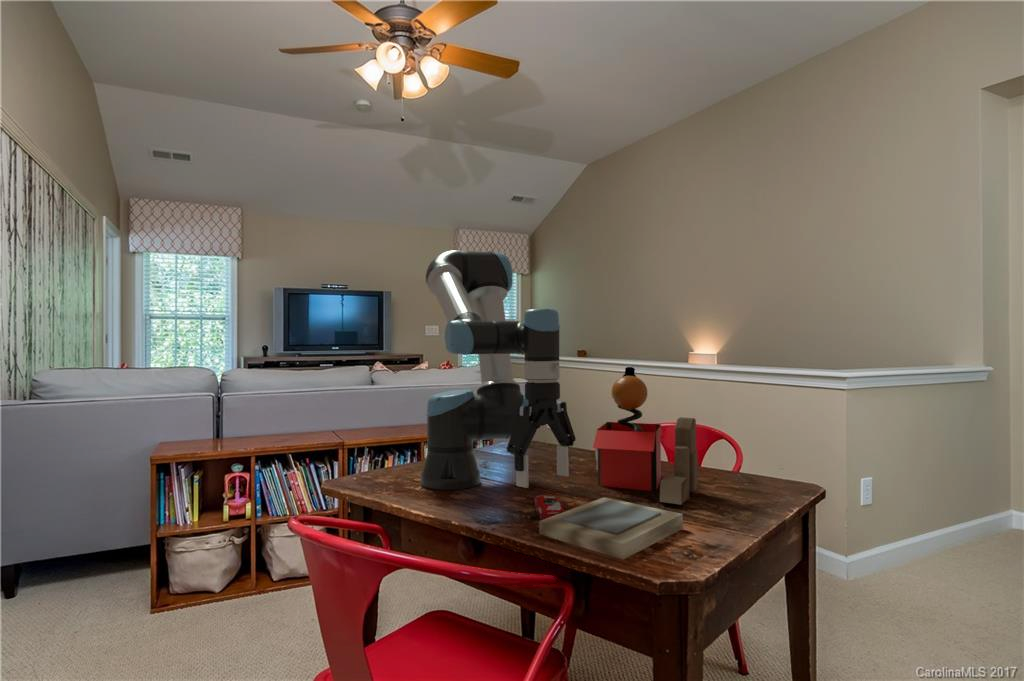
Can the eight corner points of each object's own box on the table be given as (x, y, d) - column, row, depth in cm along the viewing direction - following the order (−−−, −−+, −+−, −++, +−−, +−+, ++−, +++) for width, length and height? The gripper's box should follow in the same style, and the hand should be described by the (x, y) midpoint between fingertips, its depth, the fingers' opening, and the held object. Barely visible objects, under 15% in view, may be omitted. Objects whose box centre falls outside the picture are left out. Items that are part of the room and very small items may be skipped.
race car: (532, 504, 125) (532, 486, 125) (556, 504, 125) (556, 486, 125) (539, 526, 112) (538, 506, 112) (566, 525, 112) (566, 505, 112)
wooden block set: (675, 489, 141) (674, 416, 141) (698, 491, 138) (698, 418, 138) (655, 506, 126) (655, 425, 126) (681, 509, 123) (680, 427, 123)
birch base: (539, 537, 106) (539, 519, 106) (604, 511, 122) (604, 495, 122) (622, 561, 94) (622, 541, 94) (682, 529, 110) (682, 511, 110)
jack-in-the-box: (607, 469, 163) (606, 365, 163) (663, 473, 157) (662, 365, 157) (588, 491, 138) (588, 369, 138) (653, 497, 133) (653, 370, 133)
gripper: (516, 384, 109) (517, 494, 109) (590, 379, 128) (591, 473, 127) (488, 383, 114) (489, 488, 114) (563, 378, 133) (564, 469, 132)
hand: (543, 480), depth 121 cm, fingers open, 13 cm apart
